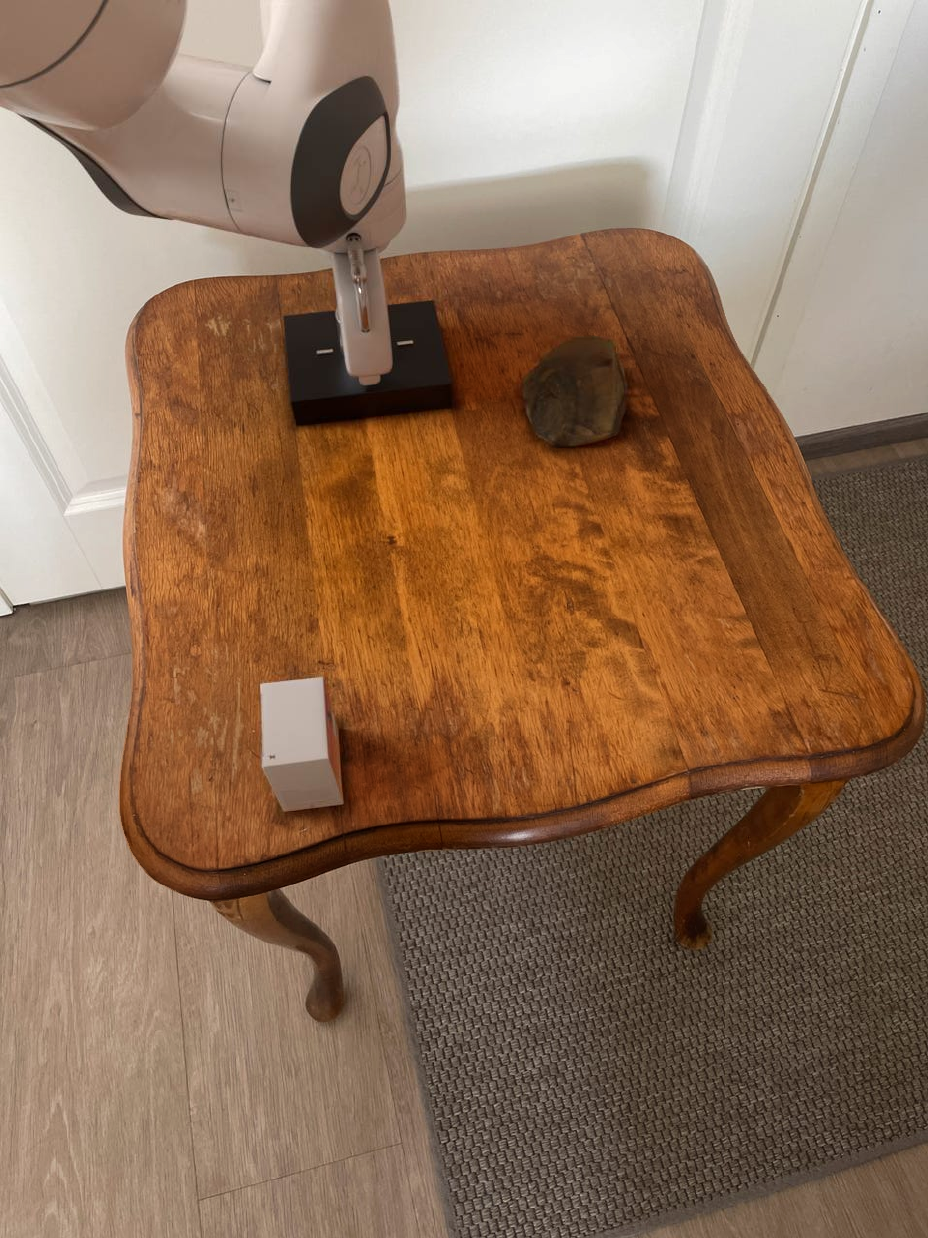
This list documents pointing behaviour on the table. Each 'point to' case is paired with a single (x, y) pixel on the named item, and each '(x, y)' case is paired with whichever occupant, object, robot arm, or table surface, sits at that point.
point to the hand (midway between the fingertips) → (363, 341)
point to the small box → (300, 744)
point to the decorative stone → (576, 393)
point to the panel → (338, 396)
